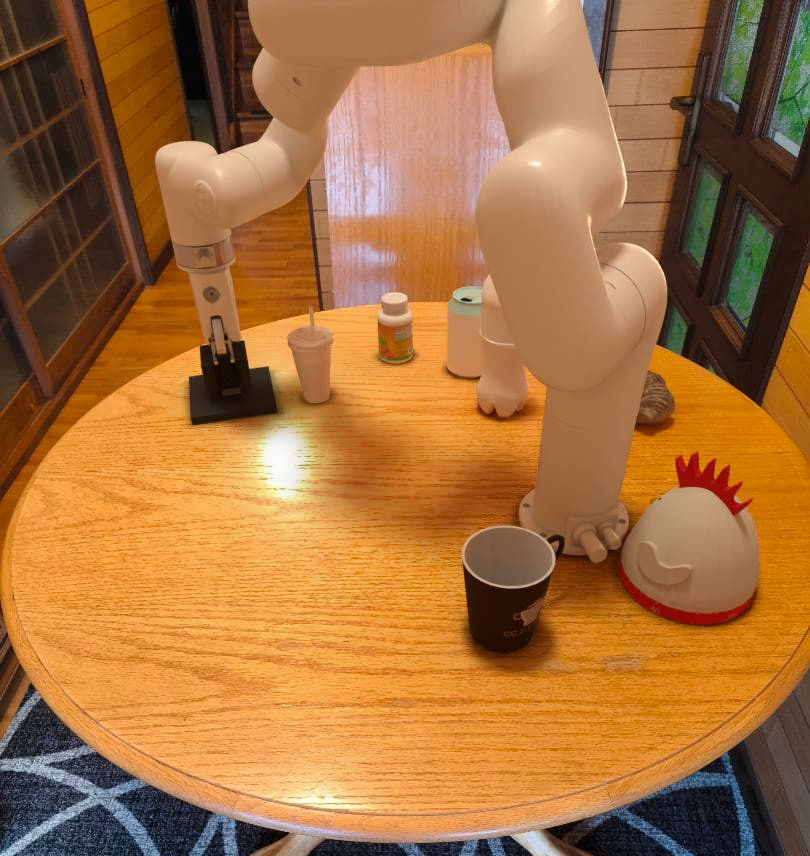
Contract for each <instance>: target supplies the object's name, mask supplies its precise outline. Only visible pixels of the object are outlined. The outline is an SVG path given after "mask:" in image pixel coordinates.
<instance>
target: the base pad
mask: <svg viewBox="0 0 810 856" xmlns="http://www.w3.org/2000/svg"><path fill="white" fill-rule="evenodd" d="M249 370H250V376H251V382H252V386H248V387H244V386H243V387H240V388H232V389H224V390H217V391H209V392H206V388H205V383H204V378H203V374H197V375H189V376H188V389H189V391H188V392H189V410H190V411H189V412H190V414H189V415H190V422H191V425H192V426H194V425H203V424H209V423H216V422H223V421H229V420H230V421H232V420H237V419H239V420H240V419H245V418H246V419H247V418H252V417H253V418H254V417H259V416H267V415H274V414H278V413H279V410H278V405H277V404H278V403H277V399H276V395H275V391H274V385H273V381H272V376H271V372H270V367H269V365H268V366H267V365H266V366H260V367H252V368H251V367H250V368H249Z"/></svg>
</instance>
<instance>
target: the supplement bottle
mask: <svg viewBox="0 0 810 856" xmlns="http://www.w3.org/2000/svg"><path fill="white" fill-rule="evenodd" d="M408 298H409V297H408V295H406V294H405V293H403V292H399V291H396V292H394V291H393V292H387V293H384V294H383V295H382V296H381V298H380V306H381V307H380V308H381V309H380V310H379V311H378V312H377V315H376V317H377V339H378V341H377V342H378V356H379V358H380V360H381V361H382V362H384V363H387V364H392V365H399V364H404V363H406V362H408V361H410V360H411V359H412V358H413V356H414V355H413V354H414V332H413V331H414V330H413V328H414V327H413V326H414V325H413V323H414V322H413V313H412V311H411V310H410V309H409V308H408V306H409V302H408V301H409V300H408Z"/></svg>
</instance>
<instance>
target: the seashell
mask: <svg viewBox="0 0 810 856" xmlns="http://www.w3.org/2000/svg"><path fill="white" fill-rule="evenodd" d="M666 383H667V382H666V381H665V379H664V377H663V376H662V375H660V373H657V372H654V371H653V370H652V371H651V370H649V369H648V373H647V376H646V380H645V385H644V389H643V394H642V398H641V403H640V407H639V412H638V415H637V419H636V423H635V424H641V425H642V424H643V425H644V424H646V425H653V424H658V423H661V422H662V421H664V420H667V419H669V417H670V416H671V415H672V414H673V413H674V411H675V410H676V403H675V398H674V396H673V394H672V392H671V391H670V389H669V388H668V387H667V384H666Z"/></svg>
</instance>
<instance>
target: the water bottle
mask: <svg viewBox="0 0 810 856" xmlns="http://www.w3.org/2000/svg"><path fill="white" fill-rule="evenodd" d="M482 287H483V288H482V293H481V299H482V311H481V328H480V331H479V333H480V336H481V340H482V346H483V370H482V374H481V376H480V378H479V381H478V383H477V385H476V390H475V391H476V399H477V403H478V405H479V407H480V408H481V411H483V413H484V414H488V415H490V414H491V413H492V412H493V411H494V410H495V411H496V415H497V416H498V417H500V418H510V417H511V416H512V415H513V414H514V413H515V412H520V411H521V410H522V409H523V408H524V406H525V403H526V402H527V398H528V395H529V384H528V380H527V374H526V366H525V364H524V363H523V361H522V359H521V357H520V355H519V353H518V351H517V349H516V346H515V344H514V341H513V339H512V336H511V333H510V330H509V327H508V325H507V322H506V319H505V316H504V313H503V310H502V308H501V305H500V302H499V299H498V296H497V293H496V290H495V288H494V285H493V282H492V279H491V276H490V273H489V272H488V275H487V278H486V279H485V281H484V283H483V285H482Z"/></svg>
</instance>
